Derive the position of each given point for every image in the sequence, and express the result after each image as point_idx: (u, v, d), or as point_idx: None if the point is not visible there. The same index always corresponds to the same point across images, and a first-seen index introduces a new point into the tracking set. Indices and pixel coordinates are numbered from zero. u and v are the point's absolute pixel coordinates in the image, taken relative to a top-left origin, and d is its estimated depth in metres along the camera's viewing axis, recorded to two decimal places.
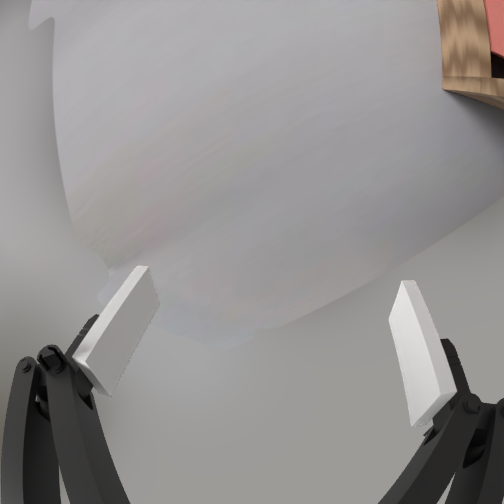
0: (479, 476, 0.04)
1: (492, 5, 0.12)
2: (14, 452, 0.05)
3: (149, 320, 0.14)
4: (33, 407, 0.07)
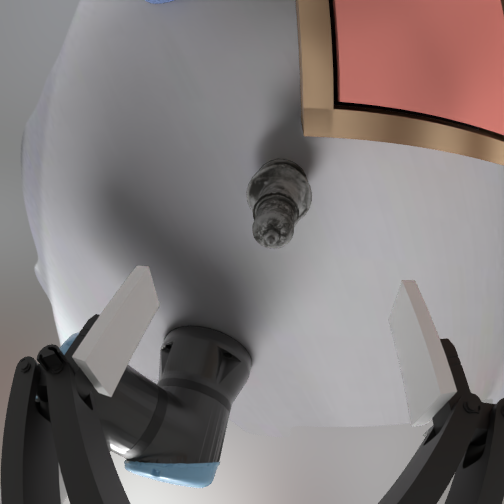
0: (479, 476, 0.04)
1: (437, 101, 0.13)
2: (14, 452, 0.05)
3: (149, 320, 0.14)
4: (33, 407, 0.07)
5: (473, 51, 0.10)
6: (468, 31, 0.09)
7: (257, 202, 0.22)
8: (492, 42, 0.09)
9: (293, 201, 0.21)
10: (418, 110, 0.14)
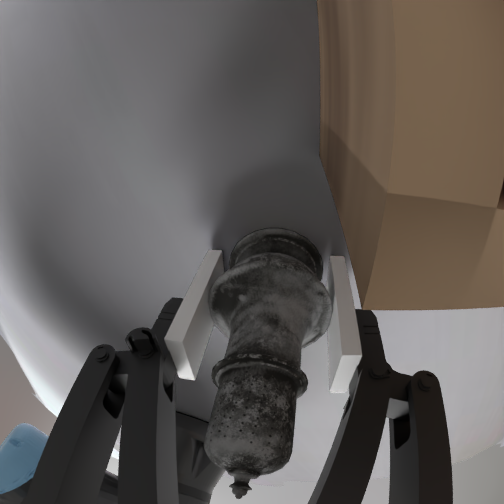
0: (413, 457, 0.06)
1: None
2: (62, 445, 0.06)
3: None
4: (100, 402, 0.08)
5: None
6: None
7: (219, 367, 0.09)
8: None
9: (297, 371, 0.09)
10: None
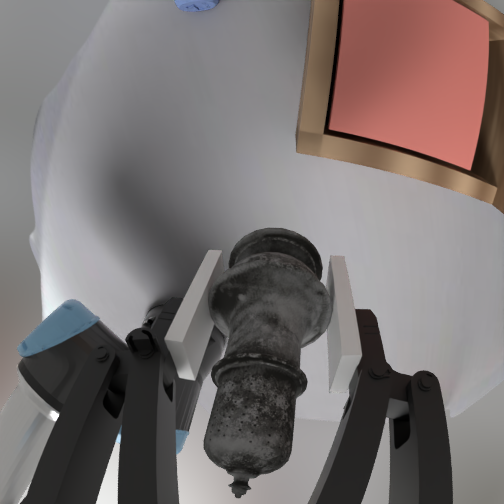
0: (413, 457, 0.06)
1: (409, 137, 0.18)
2: (62, 445, 0.06)
3: None
4: (100, 402, 0.08)
5: (450, 97, 0.16)
6: (449, 80, 0.15)
7: (218, 366, 0.09)
8: (470, 91, 0.15)
9: (296, 370, 0.09)
10: (392, 142, 0.19)
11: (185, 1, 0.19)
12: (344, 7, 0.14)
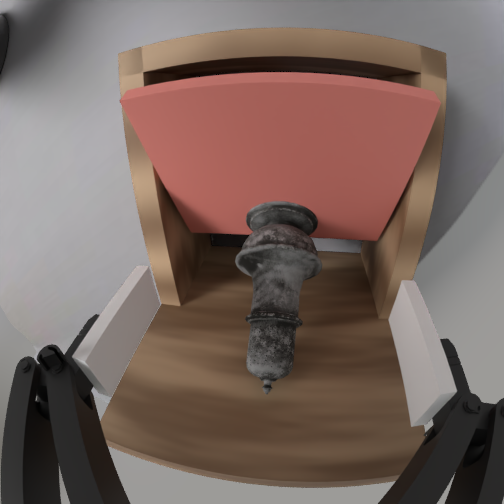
0: (479, 476, 0.04)
1: (174, 180, 0.17)
2: (14, 452, 0.05)
3: (149, 320, 0.14)
4: (33, 407, 0.07)
5: (250, 208, 0.19)
6: None
7: (249, 317, 0.17)
8: None
9: (295, 320, 0.16)
10: (155, 165, 0.16)
11: None
12: (340, 85, 0.10)
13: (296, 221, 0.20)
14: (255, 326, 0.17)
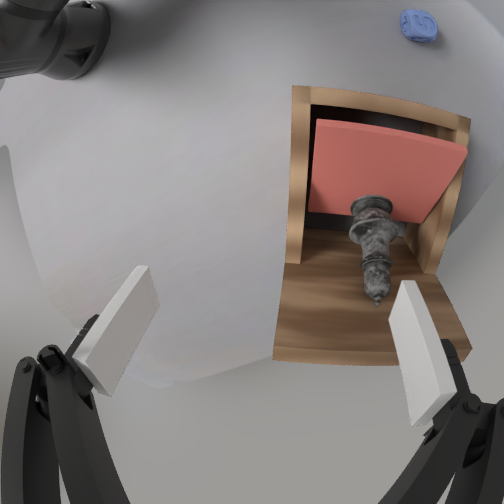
0: (479, 476, 0.04)
1: (321, 175, 0.28)
2: (13, 452, 0.05)
3: (149, 320, 0.14)
4: (33, 407, 0.07)
5: (358, 197, 0.30)
6: None
7: (366, 260, 0.27)
8: None
9: (391, 261, 0.27)
10: (314, 165, 0.27)
11: (410, 16, 0.20)
12: (427, 142, 0.21)
13: (382, 207, 0.30)
14: (370, 265, 0.27)
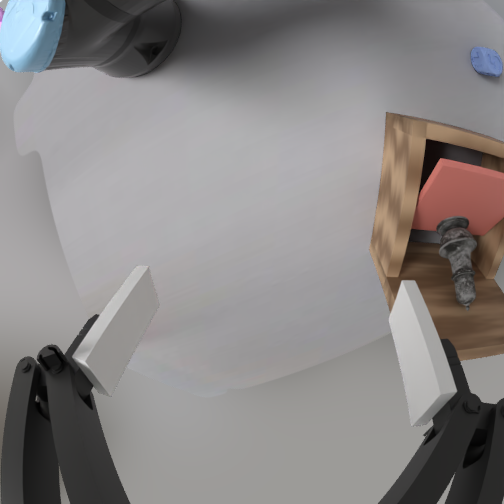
0: (479, 476, 0.04)
1: (427, 202, 0.28)
2: (14, 452, 0.05)
3: (149, 320, 0.14)
4: (33, 407, 0.07)
5: None
6: None
7: (458, 273, 0.28)
8: None
9: (474, 273, 0.27)
10: (425, 194, 0.27)
11: (484, 55, 0.20)
12: None
13: (462, 226, 0.30)
14: (461, 277, 0.27)
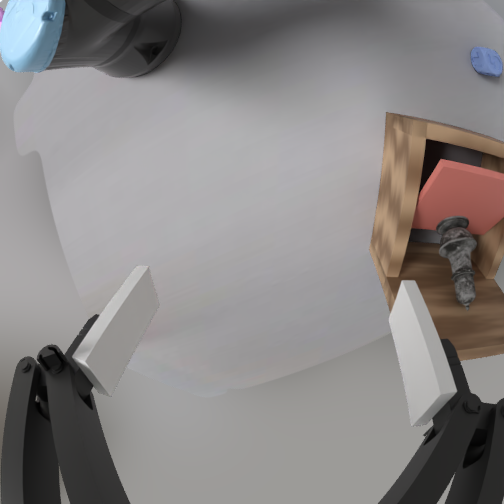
0: (479, 476, 0.04)
1: (427, 202, 0.28)
2: (14, 452, 0.05)
3: (149, 320, 0.14)
4: (33, 407, 0.07)
5: (446, 217, 0.30)
6: None
7: (458, 273, 0.28)
8: None
9: (474, 272, 0.27)
10: (426, 194, 0.27)
11: (484, 55, 0.20)
12: None
13: (462, 225, 0.30)
14: (461, 277, 0.27)
